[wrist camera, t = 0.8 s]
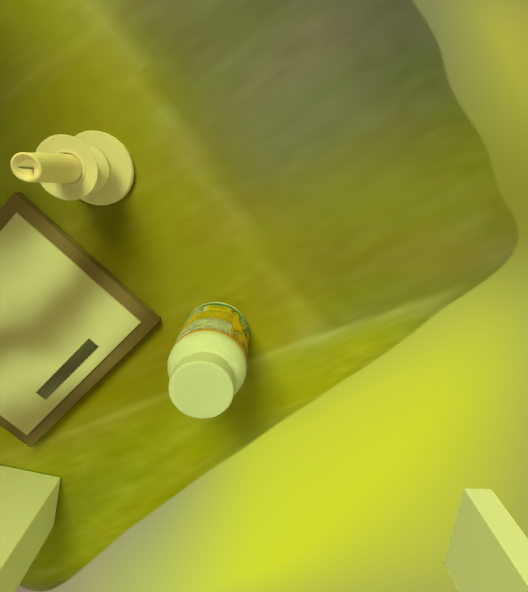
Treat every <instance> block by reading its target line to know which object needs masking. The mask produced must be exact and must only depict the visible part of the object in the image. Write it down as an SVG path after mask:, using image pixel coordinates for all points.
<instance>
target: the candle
mask: <svg viewBox="0 0 528 592" xmlns="http://www.w3.org/2000/svg"><path fill="white" fill-rule="evenodd" d="M11 169H12V171H13V173H14V174H15V175H16V177H18V178H19V179H20V180H23V181H26V182H35V183H40V184H41V185H42V186H43V188H44V189H45V190H46V191H47V192H49V193H50V194H51V195H53V196H55V197H57V198H59V199H63V200H78V199H81V200H83V201H85V202H87V203H90V204H94V205H109V204H112V203H116V202H118V201H119V200H121V199H122V198H124V197H125V195H126V194H127V193H128V192H129V191H130V188H131V186H132V184H133V180H134V163H133V161H132V158H131V155H130V153H129V152H128V150H127V149H126V147H125V146H124V145H123V144H122V143H121V142H120V141H119V140H118V139H117V138H115V137H113V136H112V135H110V134H108V133H104V132H100V131H85V132H82V133H79V134H77V135H75V136H70V135H66V134H56V135H53V136H50V137H48V138H46V139H45V140H44V141H42V142H41V144H40V145H39V146H38V148H37V150H36V153H26V152H20V153H17V154H15V155H14V156H13V157H12V159H11Z"/></svg>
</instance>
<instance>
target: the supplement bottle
mask: <svg viewBox="0 0 528 592" xmlns="http://www.w3.org/2000/svg"><path fill="white" fill-rule="evenodd" d="M248 344H249V328H248V325H247V322H246V320H245V319H244V317H243V315H242V314H241V313H240V311H238V310H237V309H236V308H235V307H233V306H232V305H229V304H227V303H223V302H209V303H205V304H203V305H200V306H199V307H197V308H196V309H194V310H193V311H192V312H191V314H190V315H189V316H188V318H187V320H186V321H185V323H184V326H183V328H182V330H181V332H180V334H179V336H178V338H177V340H176V342H175V344H174V346H173V348H172V350H171V352H170V355H169V358H168V365H167V369H168V375H169V379H170V381H169V395H170V398H171V400H172V402H173V404H174V405H175V406H176V408H177V409H178V410H180V411H181V412H182V413H184V414H186V415H188V416H190V417H193V418H200V419H206V418H212V417H215V416H217V415H219V414H221V413H223V412H224V411H225V410H226V409H227V408H228V407H229V405H230V404H231V402H232V399H233V396H234V395H235V394H236V393H237V392H238V391H239V389H240V388H241V386H242V385H243V382H244V380H245V377H246V372H247V357H248Z"/></svg>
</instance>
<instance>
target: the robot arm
mask: <svg viewBox="0 0 528 592" xmlns="http://www.w3.org/2000/svg"><path fill="white" fill-rule="evenodd" d="M445 565H446V568H447V570H448V572H449V574H450V576H451V578H452V580H453V582H454V584H455V586H456V588H457V590H458V592H528V539H527V537H526V536H525V535H524V533H523V532H522V531H521V529H520V528H519V527H518V525H517V524H516V523H515V521H514V520H513V518H512V517H511V516H510V514H509V513H508V512H507V510H506V509H505V508H504V506H503V505H502V504H501V502H500V501H499V499H498V498H497V497H496V495H495V494H494V492H493V491H492V490H491V489H464V491H463V494H462V498H461V502H460V506H459V510H458V513H457V518H456V521H455V525H454V529H453V532H452V537H451V540H450V544H449V548H448V552H447V555H446V559H445Z"/></svg>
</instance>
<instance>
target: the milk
mask: <svg viewBox="0 0 528 592" xmlns="http://www.w3.org/2000/svg"><path fill="white" fill-rule="evenodd" d="M60 479H61V478H60V477H56V476H51V475H46V474H41V473H36V472H31V471H26V470H21V469H16V468H12V467H7V466H2V465H0V592H15V591H16V590H17V588H18V586H19V584H20V583H21V581H22V579H23V578H24V576H25V574H26V573H27V571H28V569H29V567H30V566H31V564H32V562H33V561H34V559H35V557H36V556H37V554H38V552H39V550H40V549H41V547H42V545H43V544H44V542H45V540H46V538H47V537H48V535H49V533H50V532H51V530H52V528H53V526H54V521H55V514H56V507H57V500H58V493H59V486H60Z"/></svg>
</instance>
